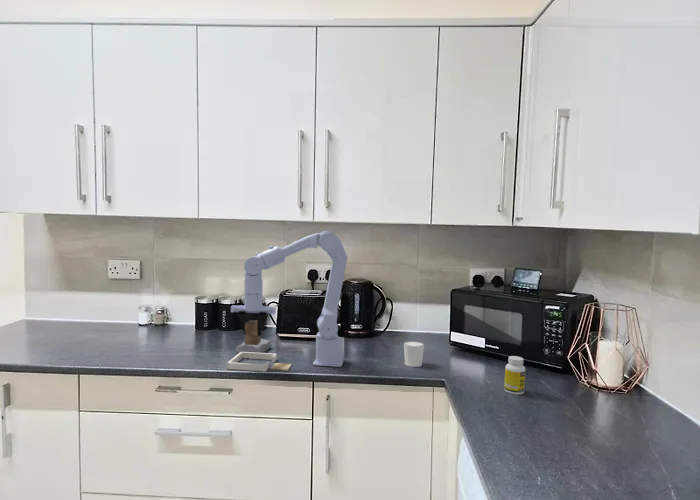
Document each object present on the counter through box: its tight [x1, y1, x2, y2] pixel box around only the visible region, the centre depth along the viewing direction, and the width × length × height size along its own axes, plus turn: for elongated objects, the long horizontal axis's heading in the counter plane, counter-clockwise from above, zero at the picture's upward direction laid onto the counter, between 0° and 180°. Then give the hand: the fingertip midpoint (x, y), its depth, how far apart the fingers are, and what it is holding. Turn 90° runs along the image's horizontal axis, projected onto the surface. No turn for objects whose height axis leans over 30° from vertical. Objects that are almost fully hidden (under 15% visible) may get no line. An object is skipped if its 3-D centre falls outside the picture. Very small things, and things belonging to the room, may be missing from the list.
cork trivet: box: [269, 362, 293, 372], centre depth 145 cm, size 6×6×1 cm
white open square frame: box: [226, 352, 278, 373], centre depth 147 cm, size 13×13×2 cm
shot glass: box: [403, 341, 425, 368], centre depth 151 cm, size 7×7×7 cm
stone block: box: [235, 338, 272, 355], centre depth 163 cm, size 12×5×10 cm
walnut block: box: [244, 319, 262, 345], centre depth 147 cm, size 4×4×7 cm
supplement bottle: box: [503, 355, 526, 395], centre depth 128 cm, size 5×5×10 cm
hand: (253, 334), depth 147 cm, fingers closed on walnut block, 4 cm apart
